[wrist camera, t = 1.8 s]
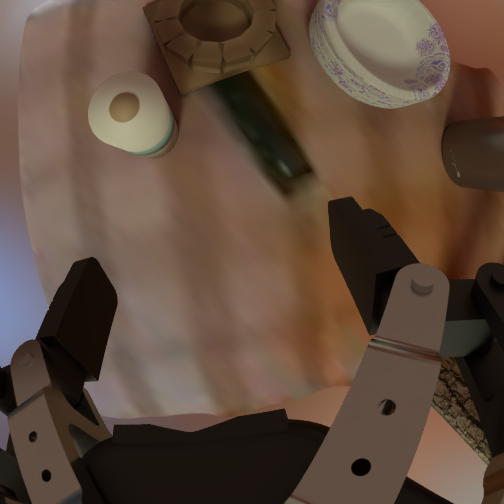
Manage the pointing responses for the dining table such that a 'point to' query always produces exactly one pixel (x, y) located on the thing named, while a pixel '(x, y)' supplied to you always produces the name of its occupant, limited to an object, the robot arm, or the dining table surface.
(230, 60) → the holder
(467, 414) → the bark covered cylinder
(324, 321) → the dining table surface
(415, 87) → the paper bowls
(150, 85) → the roll
